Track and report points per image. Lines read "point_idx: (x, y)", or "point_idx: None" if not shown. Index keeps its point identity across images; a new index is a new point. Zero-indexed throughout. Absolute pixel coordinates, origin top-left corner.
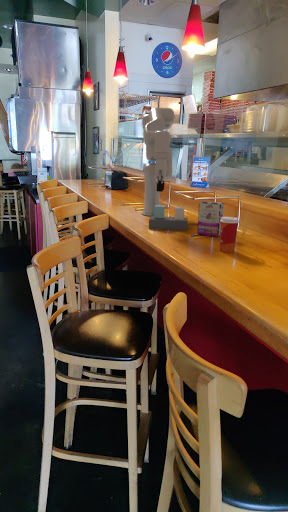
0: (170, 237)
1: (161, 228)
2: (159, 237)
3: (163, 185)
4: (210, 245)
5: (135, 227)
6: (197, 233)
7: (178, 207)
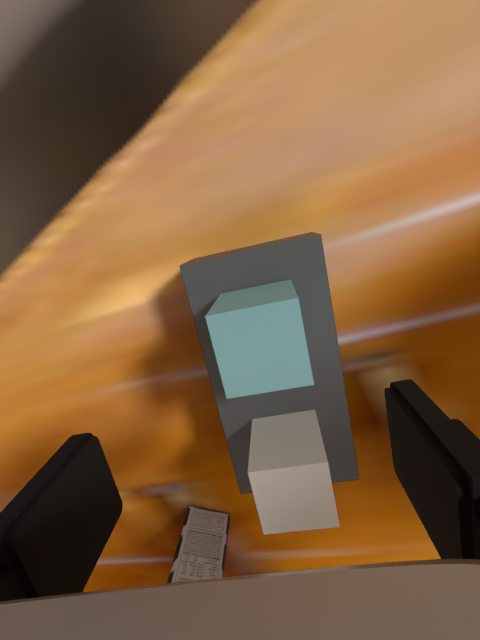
0: (67, 413)
1: None
2: (38, 369)
3: (425, 524)
4: None
5: (190, 163)
6: (187, 509)
7: (299, 490)
